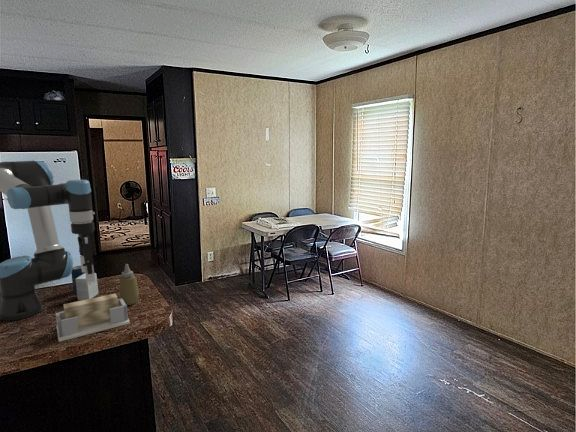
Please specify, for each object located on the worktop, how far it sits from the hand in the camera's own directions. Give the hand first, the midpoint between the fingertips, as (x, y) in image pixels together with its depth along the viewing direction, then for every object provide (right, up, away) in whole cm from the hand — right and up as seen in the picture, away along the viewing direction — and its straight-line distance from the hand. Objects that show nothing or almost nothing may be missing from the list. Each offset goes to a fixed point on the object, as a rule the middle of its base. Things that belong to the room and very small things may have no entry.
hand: (88, 276), depth 138 cm
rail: (0, -17, +3) cm, 18 cm away
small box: (-17, -15, +32) cm, 39 cm away
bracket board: (0, -20, +4) cm, 20 cm away
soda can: (-25, -14, +39) cm, 48 cm away
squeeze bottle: (+5, -16, +25) cm, 30 cm away
